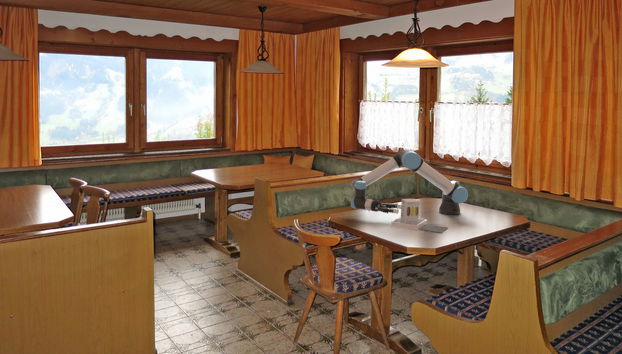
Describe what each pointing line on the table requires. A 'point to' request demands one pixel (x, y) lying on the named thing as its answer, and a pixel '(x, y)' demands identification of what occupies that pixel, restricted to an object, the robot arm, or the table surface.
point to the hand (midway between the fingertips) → (402, 209)
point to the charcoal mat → (434, 228)
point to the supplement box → (410, 211)
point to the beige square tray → (408, 226)
